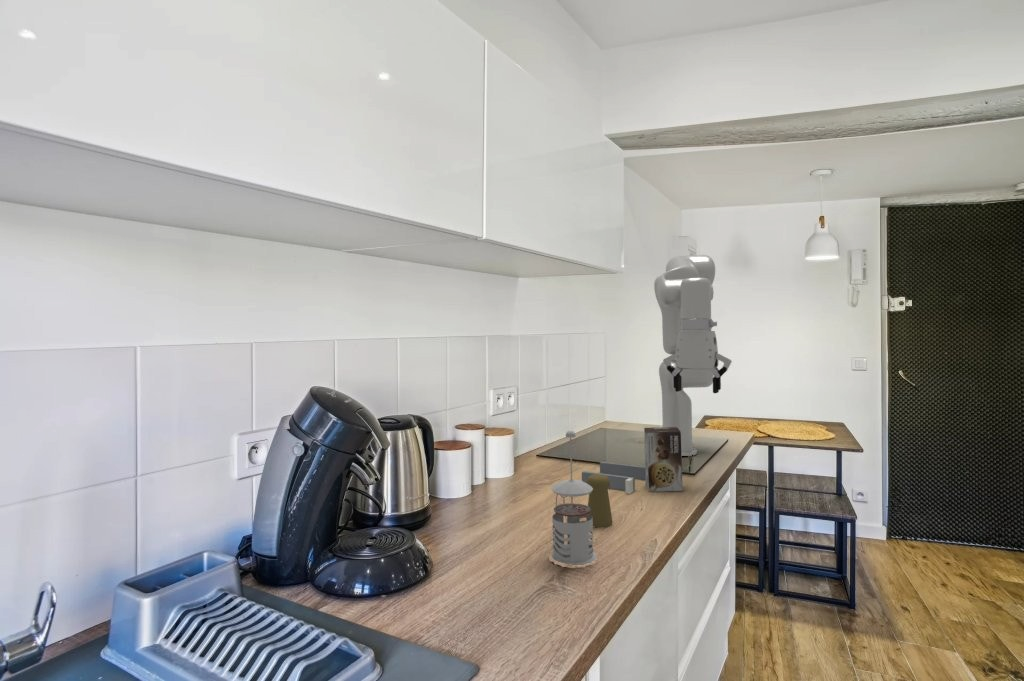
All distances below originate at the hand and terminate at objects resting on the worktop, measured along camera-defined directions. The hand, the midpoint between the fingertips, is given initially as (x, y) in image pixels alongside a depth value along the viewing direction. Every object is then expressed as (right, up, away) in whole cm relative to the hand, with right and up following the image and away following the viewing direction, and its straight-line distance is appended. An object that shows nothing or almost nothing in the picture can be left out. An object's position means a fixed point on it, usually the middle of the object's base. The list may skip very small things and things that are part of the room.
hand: (696, 391), depth 156 cm
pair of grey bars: (-19, -27, +13) cm, 35 cm away
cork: (-28, -28, -19) cm, 44 cm away
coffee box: (-7, -27, +6) cm, 28 cm away
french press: (-36, -29, -38) cm, 60 cm away
